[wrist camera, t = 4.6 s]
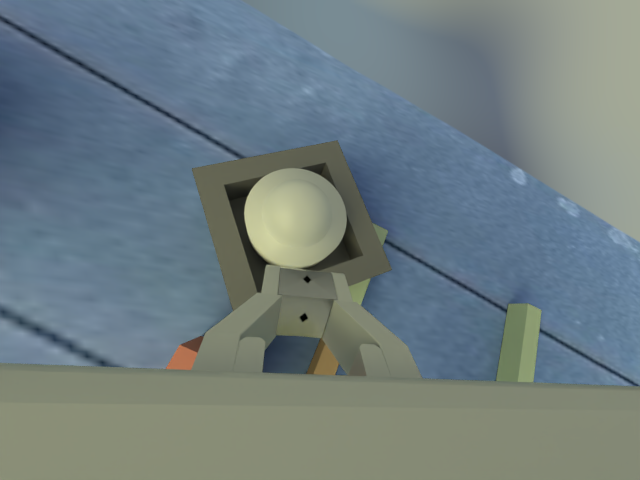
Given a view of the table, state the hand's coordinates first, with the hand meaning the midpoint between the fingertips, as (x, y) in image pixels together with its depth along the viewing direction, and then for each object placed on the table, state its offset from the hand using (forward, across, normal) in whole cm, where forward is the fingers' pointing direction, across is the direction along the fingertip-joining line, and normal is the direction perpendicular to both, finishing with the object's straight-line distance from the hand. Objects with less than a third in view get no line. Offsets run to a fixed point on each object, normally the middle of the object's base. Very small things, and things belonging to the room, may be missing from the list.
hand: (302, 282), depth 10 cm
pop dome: (+8, 0, +2) cm, 9 cm away
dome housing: (+12, 0, +5) cm, 13 cm away
